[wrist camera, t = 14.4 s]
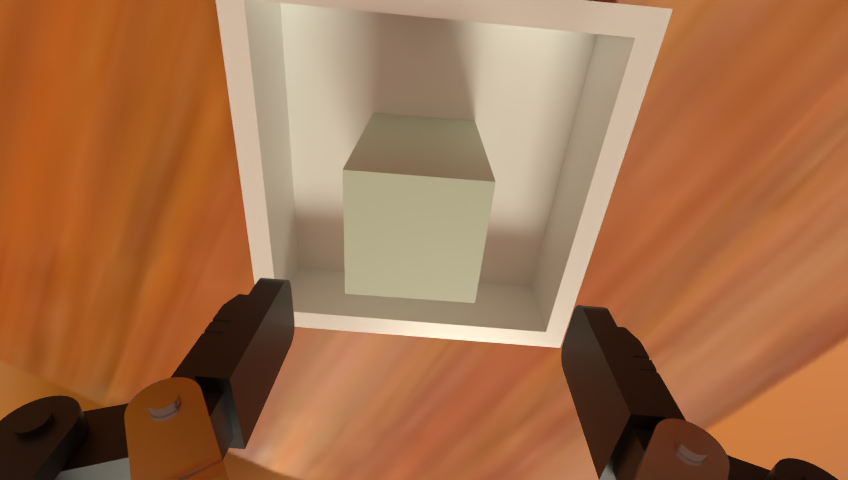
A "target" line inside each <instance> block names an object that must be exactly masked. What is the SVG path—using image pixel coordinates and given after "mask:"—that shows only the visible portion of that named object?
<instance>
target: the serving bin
mask: <svg viewBox="0 0 848 480" xmlns="http://www.w3.org/2000/svg"><path fill="white" fill-rule="evenodd" d="M216 6H217V13H218V20H219V28H220V35H221V42H222V49H223V57H224V64H225V71H226V79H227V86H228V93H229V100H230V108H231V115H232V122H233V130H234V137H235V144H236V151H237V159H238V166H239V173H240V181H241V188H242V195H243V202H244V210H245V217H246V224H247V231H248V239H249V246H250V253H251V261H252V268H253V275H254V282H255V284H256V283H257V281H258V280H259V279H260V278H271V279H283V280H289V281H290V284H291V291H292V301H293V312H294V322H295V327H306V328H319V329H331V330H344V331H356V332H369V333H381V334H394V335H406V336H419V337H431V338H444V339H456V340H469V341H481V342H494V343H507V344H519V345H532V346H544V347H557V348H560V347H561V344H562V341H563V338H564V335H565V332H566V329H567V326H568V323H569V320H570V317H571V314H572V311H573V308H574V305H575V302H576V299H577V296H578V293H579V290H580V287H581V284H582V281H583V278H584V275H585V272H586V269H587V266H588V263H589V260H590V257H591V254H592V251H593V248H594V245H595V242H596V239H597V236H598V233H599V230H600V227H601V224H602V221H603V218H604V215H605V212H606V209H607V206H608V203H609V200H610V197H611V194H612V191H613V188H614V185H615V182H616V179H617V176H618V173H619V170H620V167H621V164H622V161H623V158H624V155H625V152H626V149H627V146H628V143H629V140H630V137H631V133H632V130H633V127H634V124H635V121H636V118H637V115H638V112H639V109H640V106H641V103H642V100H643V97H644V94H645V91H646V88H647V85H648V82H649V79H650V76H651V73H652V70H653V67H654V64H655V61H656V58H657V55H658V52H659V49H660V46H661V43H662V40H663V37H664V34H665V31H666V28H667V25H668V22H669V19H670V16H671V13H672V10H673V9H667V8H657V7H647V6H637V5H627V4H617V3H607V2H598V1H588V0H216ZM373 113H384V114H396V115H408V116H421V117H433V118H445V119H457V120H469V121H475V123H476V126H477V128H478V131H479V134H480V137H481V140H482V143H483V146H484V149H485V152H486V155H487V158H488V161H489V164H490V167H491V170H492V173H493V175H494V178H495V181H496V183H495V189H494V195H493V201H492V206H491V212H490V218H489V224H488V230H487V236H486V241H485V247H484V253H483V259H482V265H481V271H480V276H479V282H478V288H477V294H476V300H475V303H466V302H452V301H439V300H425V299H411V298H398V297H384V296H370V295H357V294H345V268H344V219H343V171H342V170H343V168H344V166H345V164H346V162H347V160H348V159H349V157H350V155H351V153H352V151H353V149H354V147H355V146H356V144H357V142H358V140H359V138H360V136H361V134H362V133H363V131H364V129H365V127H366V125H367V123H368V121H369V120H370V118H371V116H372V114H373Z"/></svg>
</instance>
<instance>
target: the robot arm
mask: <svg viewBox="0 0 848 480" xmlns="http://www.w3.org/2000/svg"><path fill="white" fill-rule="evenodd" d="M294 327H295V322H294V312H293V301H292V291H291V284H290V281H289V280H283V279H271V278H260V279H259V280H258V281H257V283H256V284H255V286H254V287H253V289H252V290H251V292H250V293H249V295H243V294H238V295H237V296H236V297H234V298H233V299H231V300H230V301H228V302H227V303H226V304H224V305H223V306H222V307H221V309H220V310H219V311H218V313H217V314H216V316H215V317H214V318H213V322H210V324H209V325H208V327H207V328H206V329H205V332H204V334H202V335H201V336H200V338H199V339H198V340H197V342H196V343H195V345H194V346H193V347H192V349H191V350H190V352H189V353H188V354H187V356H186V357H185V358H184V360H183V361H182V363H181V364H180V365H179V367H178V368H177V370H176V371H175V372H174V374H173V375H172V376H171V378H167V379H164V380H160V381H158V382H155V383H153V384H151V385H149V386H147V387H146V388H144V389H143V390H141V391H140V392H139V393H138V394H136V395H135V396H134V398H133V399H132V400H131V401H130V402H129V403H127V404H123V405H118V406H112V407H106V408H101V409H96V410H89V411H84V412H83V411H82V409H81V407H80V405H79V403H78V402H77V401H76V400H75V399H73V398H71V397H68V396H51V397H45V398H41V399H38V400H35V401H33V402H30V403H28V404H25V405H23V406H21V407H20V408H18V409H16V410H14V411H13V412H11V413H10V414H8V415H7V416H6V417H4V418H3V419H2V420H1V421H0V480H229V477H228V474H227V471H226V468H225V464H224V462H223V459H224V457H225V455H226V453H227V451H228V448H239V449H245V448H246V445H247V443H248V441H249V439H250V436H251V434H252V432H253V429H254V427H255V425H256V423H257V420H258V418H259V416H260V414H261V411H262V409H263V407H264V405H265V402H266V400H267V398H268V396H269V393H270V391H271V389H272V386H273V384H274V382H275V380H276V377H277V375H278V373H279V371H280V368H281V366H282V364H283V362H284V359H285V357H286V355H287V353H288V350H289V348H290V346H291V343H292V340H293V335H294ZM561 359H562V367H563V371H564V374H565V377H566V380H567V383H568V386H569V389H570V392H571V395H572V398H573V401H574V404H575V407H576V411H577V414H578V417H579V420H580V423H581V426H582V429H583V432H584V435H585V438H586V441H587V444H588V447H589V450H590V454H591V457H592V460H593V463H594V466H595V469H596V472H597V475H598V478H599V480H838V479H836V478H835V477H834V476H832V475H831V474H829V473H828V472H826V471H825V470H823V469H821V468H819V467H817V466H815V465H813V464H811V463H809V462H806V461H803V460H799V459H793V458H787V459H782V460H780V461H779V462H778V463H777V464H776V465H775V466H774V467H773V469H772V470H771V471H770V470H767V469H765V468H762V467H759V466H756V465H753V464H750V463H748V462H745V461H742V460H739V459H736V458H733V457H731V456H728V455H727V454H726V452H725V451H724V449H723V448H722V446H721V445H720V444H719V443H718V441H717V440H716V439H715V438H713V437H712V436H711V435H710V434H709V433H708V432H706V431H705V430H704V429H702V428H700V427H699V426H697V425H695V424H693V423H690V422H688V421H686V420H685V418H684V416H683V415H682V413H681V411H680V409H679V408H678V406H677V404H676V402H675V401H674V399H673V397H672V396H671V394H670V392H669V390H668V389H667V387H666V385H665V383H664V382H663V380H662V378H661V377H660V375H659V373H657V372H656V368H655V366H654V364H653V363H652V361H651V360H649V356H648V354H647V352H646V351H645V349H644V347H643V345H642V344H641V342H640V341H639V340H638V339H637V338H636V337H635V336H634V335H633V334H631V333H630V332H629V331H628V330H627V329H626V328H624V327H617V325H616V323H615V321H614V320H613V318H612V316H611V314H610V312H609V310H608V309H607V308H604V307H593V306H581V305H578V306H576V308H575V309H574V312H573V315H572V318H571V321H570V324H569V327H568V331H567V334H566V337H565V340H564V343H563V346H562V354H561Z"/></svg>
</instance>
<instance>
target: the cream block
mask: <svg viewBox="0 0 848 480" xmlns="http://www.w3.org/2000/svg"><path fill="white" fill-rule="evenodd" d="M342 171H343V219H344V268H345V294H357V295H370V296H384V297H398V298H411V299H425V300H439V301H452V302H466V303H475V300H476V294H477V288H478V282H479V276H480V271H481V265H482V259H483V253H484V247H485V241H486V236H487V230H488V224H489V218H490V212H491V206H492V201H493V195H494V189H495V183H496V181H495V178H494V175H493V173H492V170H491V167H490V164H489V161H488V158H487V155H486V152H485V149H484V146H483V143H482V140H481V137H480V134H479V131H478V128H477V126H476V123H475V121H469V120H457V119H445V118H433V117H421V116H408V115H396V114H384V113H373V114H372V116H371V118H370V120H369V121H368V123H367V125H366V127H365V129H364V131H363V133H362V134H361V136H360V138H359V140H358V142H357V144H356V146H355V147H354V149H353V151H352V153H351V155H350V157H349V159H348V160H347V162H346V164H345V166H344V168H343V170H342Z"/></svg>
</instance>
